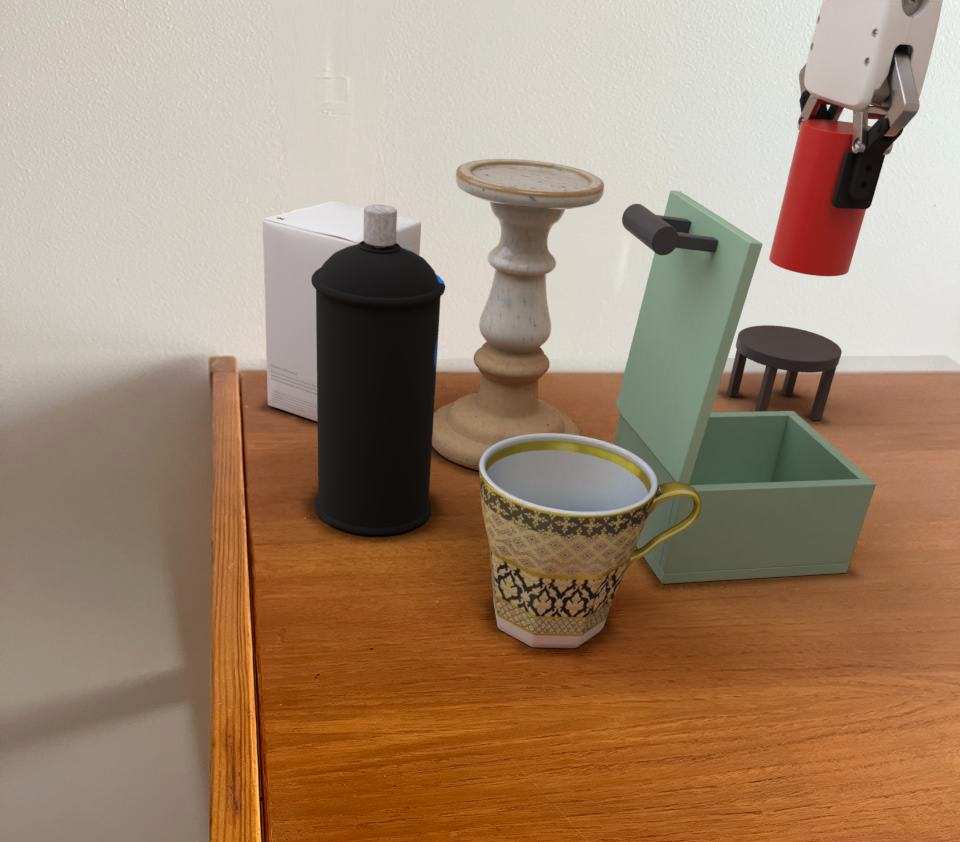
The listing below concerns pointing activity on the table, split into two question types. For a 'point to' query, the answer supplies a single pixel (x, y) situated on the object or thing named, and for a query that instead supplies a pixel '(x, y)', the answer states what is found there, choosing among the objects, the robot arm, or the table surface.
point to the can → (816, 205)
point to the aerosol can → (376, 381)
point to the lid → (683, 325)
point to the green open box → (757, 502)
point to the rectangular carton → (306, 292)
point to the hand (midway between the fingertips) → (827, 194)
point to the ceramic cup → (565, 531)
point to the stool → (785, 361)
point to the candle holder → (513, 306)
